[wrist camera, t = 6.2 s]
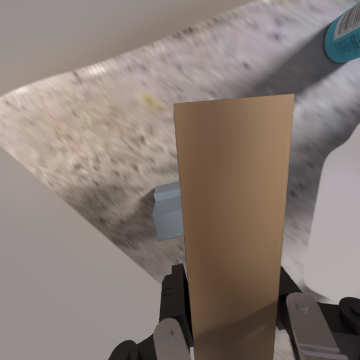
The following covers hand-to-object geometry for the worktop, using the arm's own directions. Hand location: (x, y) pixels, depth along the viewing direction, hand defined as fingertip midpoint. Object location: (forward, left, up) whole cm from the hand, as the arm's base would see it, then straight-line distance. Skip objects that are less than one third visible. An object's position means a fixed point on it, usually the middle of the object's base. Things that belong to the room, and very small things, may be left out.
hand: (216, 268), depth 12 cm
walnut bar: (0, 0, -1) cm, 1 cm away
